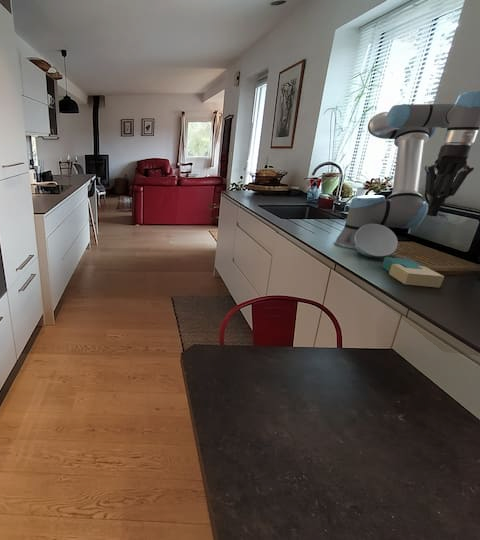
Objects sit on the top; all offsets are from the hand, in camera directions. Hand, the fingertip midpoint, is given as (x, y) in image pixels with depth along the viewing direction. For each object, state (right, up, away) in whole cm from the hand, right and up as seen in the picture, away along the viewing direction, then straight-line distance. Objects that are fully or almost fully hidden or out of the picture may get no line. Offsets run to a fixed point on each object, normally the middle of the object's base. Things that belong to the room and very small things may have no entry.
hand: (431, 215), depth 115 cm
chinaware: (-4, -10, +25) cm, 27 cm away
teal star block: (-8, -21, +3) cm, 22 cm away
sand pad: (-10, -23, -4) cm, 26 cm away
